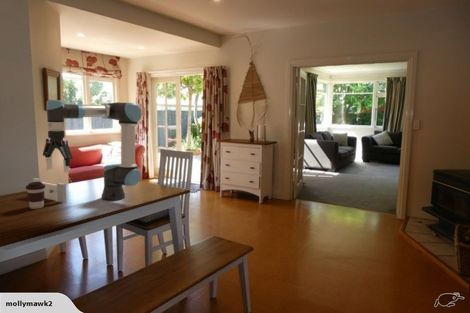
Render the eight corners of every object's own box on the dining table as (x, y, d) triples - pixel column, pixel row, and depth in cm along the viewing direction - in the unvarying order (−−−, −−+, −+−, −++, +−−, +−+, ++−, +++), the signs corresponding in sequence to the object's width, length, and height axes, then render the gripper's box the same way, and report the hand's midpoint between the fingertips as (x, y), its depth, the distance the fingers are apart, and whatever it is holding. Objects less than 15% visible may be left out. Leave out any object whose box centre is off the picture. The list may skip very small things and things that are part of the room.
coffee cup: (23, 208, 194) (21, 183, 192) (38, 203, 203) (36, 180, 201) (35, 210, 191) (33, 185, 188) (49, 206, 200) (48, 182, 198)
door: (37, 196, 217) (36, 181, 215) (41, 196, 220) (40, 181, 218) (54, 201, 209) (53, 185, 208) (58, 200, 212) (57, 184, 210)
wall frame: (37, 195, 222) (36, 177, 221) (66, 202, 209) (65, 183, 207) (33, 195, 220) (32, 178, 218) (63, 203, 207) (62, 184, 205)
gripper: (33, 129, 170) (35, 169, 173) (65, 132, 159) (67, 174, 162) (47, 128, 176) (49, 167, 179) (79, 131, 165) (80, 172, 169)
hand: (58, 170), depth 171 cm, fingers open, 13 cm apart
